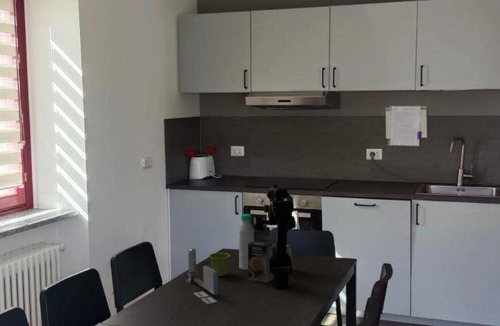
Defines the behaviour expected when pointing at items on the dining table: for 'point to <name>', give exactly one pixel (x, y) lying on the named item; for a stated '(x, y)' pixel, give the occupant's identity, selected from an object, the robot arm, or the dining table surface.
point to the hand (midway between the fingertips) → (273, 235)
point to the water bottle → (245, 240)
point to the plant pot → (219, 262)
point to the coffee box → (259, 261)
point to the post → (192, 266)
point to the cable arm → (208, 280)
